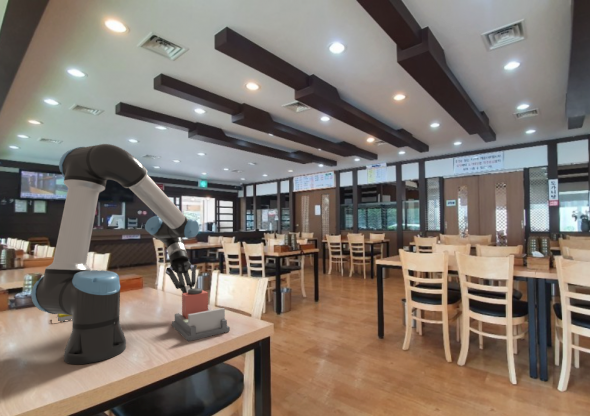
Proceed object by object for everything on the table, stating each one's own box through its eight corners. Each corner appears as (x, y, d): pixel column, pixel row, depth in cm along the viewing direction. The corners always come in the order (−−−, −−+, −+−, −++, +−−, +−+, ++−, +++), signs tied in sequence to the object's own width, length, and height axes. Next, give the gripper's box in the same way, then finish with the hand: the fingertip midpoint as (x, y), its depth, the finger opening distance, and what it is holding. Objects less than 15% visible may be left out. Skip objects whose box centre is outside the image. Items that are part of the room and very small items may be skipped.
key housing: (188, 341, 97) (187, 317, 98) (171, 325, 114) (171, 304, 114) (229, 331, 106) (229, 309, 106) (208, 317, 122) (208, 298, 122)
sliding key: (186, 324, 109) (185, 292, 110) (182, 321, 113) (182, 290, 114) (208, 319, 114) (207, 289, 115) (203, 316, 118) (203, 287, 119)
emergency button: (97, 306, 129) (51, 313, 119) (97, 317, 129) (51, 325, 119) (94, 302, 136) (50, 309, 126) (94, 312, 136) (50, 320, 126)
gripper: (191, 259, 141) (204, 303, 127) (160, 262, 134) (171, 309, 119) (194, 248, 137) (208, 292, 123) (163, 250, 130) (175, 298, 115)
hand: (190, 301), depth 121 cm, fingers closed
